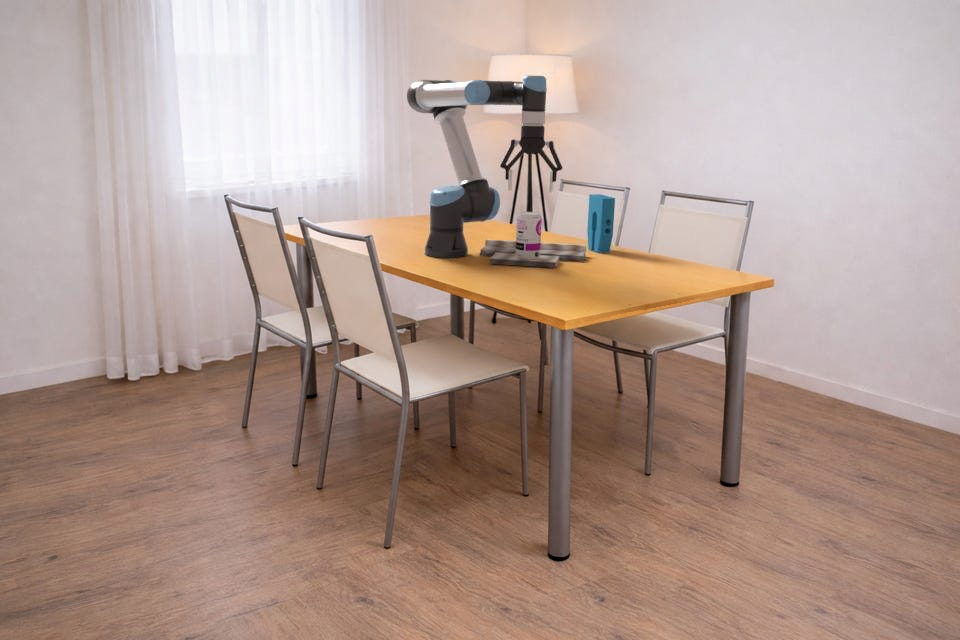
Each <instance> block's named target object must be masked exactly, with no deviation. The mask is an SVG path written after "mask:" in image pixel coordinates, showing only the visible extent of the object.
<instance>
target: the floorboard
mask: <svg viewBox="0 0 960 640" xmlns="http://www.w3.org/2000/svg"><path fill="white" fill-rule="evenodd" d="M484 241H485V242H484V243H485V244H484V246H483V247H482V248H481V249H480V253H479V256H480V257H489V258H491V257H492V256H493V255H494V254H495V253H513V254H516V240H501V239H485V240H484ZM586 251H587V245H585V244H572V243H571V244H570V243H553V242H541V245H540V255H546V256H559V262H572V263H573V262H576V263H584V262H585V258H586V256H587V253H586Z"/></svg>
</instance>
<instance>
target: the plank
mask: <svg viewBox="0 0 960 640" xmlns="http://www.w3.org/2000/svg"><path fill="white" fill-rule="evenodd" d="M559 262H560V261H559V256H546V255H540V257H538V259H534V260H524V259H519V258H517V256H516V254H513V253H495V254H494V255H493V256H492V257H489V264H490V265H506V266H521V267H522V266H523V267H537V268H539V267H541V268H555V269H556V267H557V265H558V263H559Z"/></svg>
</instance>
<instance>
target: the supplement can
mask: <svg viewBox="0 0 960 640" xmlns="http://www.w3.org/2000/svg"><path fill="white" fill-rule="evenodd" d="M542 220H543V219H542V216H541V213H540V212H535V211H519V213H518V214H517V217H516V232H515V233H516V234H515V235H516V237H515V239H516V240H515V241H516V256H517V258H519V259H524V260H534V259H538V257H540V245H541V243H542V242H541V241H542V240H541V239H542V238H541V237H542Z"/></svg>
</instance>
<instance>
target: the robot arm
mask: <svg viewBox="0 0 960 640" xmlns="http://www.w3.org/2000/svg"><path fill="white" fill-rule="evenodd" d="M547 89H548V88H547V78H546V76H544V75H524V76H523V79H522V81H513V80H506V81H505V80H482V79H481V80H480V79H474V80H469V81H460V82H459V81H455V80H450V79H446V80H439V79H438V80H437V79H435V80H434V79H421V80H417V81H414V82H413V83H411V85H410V86H409V87H408V90H407V92H406V99H407V103H408V105H409V107H410V108H411V109H412V110H414V111H416V112H417V113H421V114H432V116H433V118H434V122H435V123H436V124H439V125H440V126H441V127H440V128H441V130H442V134H443V136H444V140H445V143H446V147H447V150H448V153H449V155H450V159H451V163H452V167H453V169H454V173H455V176H456V179H457V181H458V185H445V186H440V187H436V188H434V189H433V190H432V191H431V192H430V197H429V198H430V201H429V205H430V206H429V207H430V208H429V209H430V212H429V216H430V217H429V220H430V221H429V234H428V237H427V239H426V244H425V247H424V255H426V256H429V257H432V258H433V257H434V258H441V259H442V258H446V259H448V258H452V259H453V258H463V257H466V256H468V254H469V253H468V252H469V248H468V244H467V241H466V238H465V234H464V223H475V222H476V223H477V222H483V223H484V222H486V221H491V220H493V219H494V218H495V217H496V216H497V215H498V213H499V210H500V206H501V197H500V194H499V192H498V190H497V189H495V188H494V187H490V184H489V182H488V179H486V178H485V177H482V173H481V171H480V167H479V164H478V161H477V158H476V155H475V152H474V147H473V145H472V141H471V139H470V135H469V132H468V129H467V125H466V121H465V119H464V116H465V114H466V110H467V107H468V106H490V105H491V106H493V105H494V106H522V107H521V124H522V125H521V128H520V130H521V131H520V139H519V140H516V139H515V138H514V139H511V140H510V146H509V148H508V150H507V152H506V153H505V155H504V157H503V160H502V161H501V163H500V166H499V167H500V168H501V169H503V170H505V180H506V181H507V180H508V186H507V187H508V188H507V190H508V191H512V189H513V188H512V186H513V169H511V168H512V167H513V166H514V165H515V164H516V163H517V161H518V160H519V159H520V158H521V157H522V156H523V155H524V154H526V155H538V154H539V156H541V158H542V159H543V160H544V162H545V163H546V164H547V166H548V167H549V168H550V170H551V171H550V172H549V173H550V174H549V188H548V189H549V190H548V192H549V193H552V192H553V187H554V185H553V184H554V183H556V181H557V176H558V175H557V174H558V172H559V171H562V170H563V166H562V163H561V161H560V158H559V156H558V153H557V152H556V149H555V144H554V143H555V142H554V141H553V140H550V141H545V129H546V128H545V126H544V125H545V123H546V101H547ZM518 145H519V147H521V149H520V151H519V152H517V154H516V155H515V156H514V157H513V158H512V160H511V161H510V162H509V163H508V161H509V159H510V157H511V155H512V154H513V152H514V150H515V148H516V147H517V146H518ZM545 146H546V148H548V149H549V151H550V154H551V156H552V158H553V160H554V162H555V164H554V163H553V162H552V161H551V159H550V158H549V157H548V155H547V153H546V152H545V151H544V150H543V149H544V148H545ZM507 163H508V164H507ZM555 165H556V166H555Z"/></svg>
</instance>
